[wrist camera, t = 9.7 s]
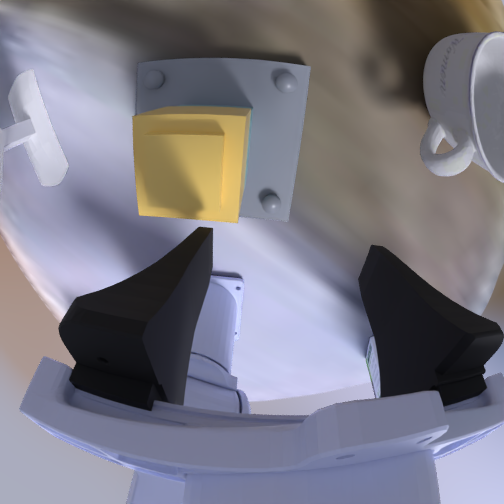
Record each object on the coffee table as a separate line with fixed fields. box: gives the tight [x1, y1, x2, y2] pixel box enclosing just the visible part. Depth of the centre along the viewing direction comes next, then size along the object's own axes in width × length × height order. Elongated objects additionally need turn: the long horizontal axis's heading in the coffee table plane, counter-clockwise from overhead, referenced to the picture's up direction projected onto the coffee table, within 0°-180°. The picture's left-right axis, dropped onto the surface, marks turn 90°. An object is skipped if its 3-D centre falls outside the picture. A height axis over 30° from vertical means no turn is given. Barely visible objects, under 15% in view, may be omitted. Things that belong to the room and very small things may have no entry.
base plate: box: [136, 58, 311, 222], centre depth 17 cm, size 12×12×5 cm
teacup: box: [420, 32, 504, 183], centre depth 12 cm, size 14×11×8 cm
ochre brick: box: [133, 106, 251, 223], centre depth 13 cm, size 5×5×5 cm
